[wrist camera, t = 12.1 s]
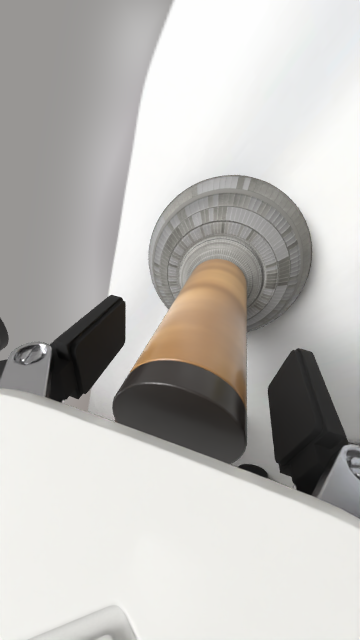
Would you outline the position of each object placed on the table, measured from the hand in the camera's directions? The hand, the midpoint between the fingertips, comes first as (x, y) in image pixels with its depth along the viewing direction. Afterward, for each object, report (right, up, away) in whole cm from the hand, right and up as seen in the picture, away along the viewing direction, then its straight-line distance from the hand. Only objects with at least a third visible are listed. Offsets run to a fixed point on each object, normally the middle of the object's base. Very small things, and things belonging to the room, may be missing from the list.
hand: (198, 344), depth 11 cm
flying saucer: (+4, +7, +11) cm, 13 cm away
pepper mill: (+2, +4, +6) cm, 7 cm away
